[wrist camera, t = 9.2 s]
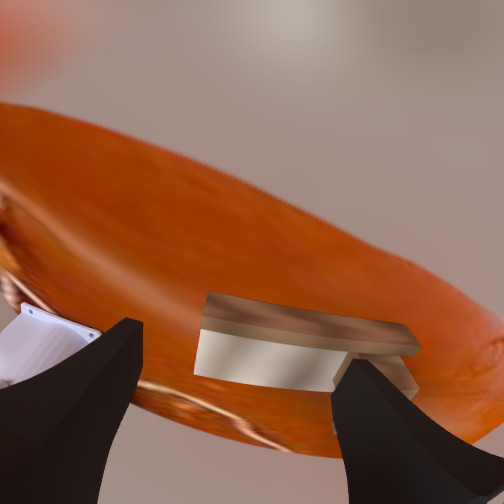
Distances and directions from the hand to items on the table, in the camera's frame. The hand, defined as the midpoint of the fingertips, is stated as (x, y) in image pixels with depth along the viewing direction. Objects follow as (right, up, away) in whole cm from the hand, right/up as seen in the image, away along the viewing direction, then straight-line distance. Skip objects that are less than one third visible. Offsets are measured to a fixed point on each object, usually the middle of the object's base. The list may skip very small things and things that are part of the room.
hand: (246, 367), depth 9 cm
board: (+4, -4, +12) cm, 13 cm away
